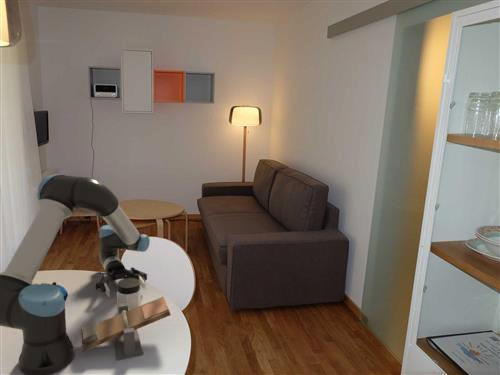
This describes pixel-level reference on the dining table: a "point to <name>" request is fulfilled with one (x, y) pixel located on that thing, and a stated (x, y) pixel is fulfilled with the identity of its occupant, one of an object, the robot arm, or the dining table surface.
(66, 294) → the ornament
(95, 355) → the dining table surface
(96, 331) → the beam
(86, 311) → the dining table surface
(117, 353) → the pivot stand
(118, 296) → the jar
